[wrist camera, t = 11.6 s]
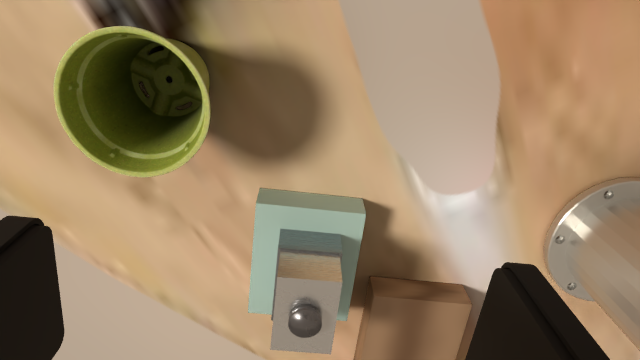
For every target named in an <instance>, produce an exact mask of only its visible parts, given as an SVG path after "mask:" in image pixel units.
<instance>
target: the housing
mask: <svg viewBox="0 0 640 360" xmlns="http://www.w3.org/2000/svg"><path fill="white" fill-rule="evenodd" d="M342 254H343V253H342V244H341V236H340V234H335V233H324V232H313V231H302V230H291V229H281V228H280V236H279V244H278V253H277V264H276V274H275V285H274V296H273V307H272V317H271V320H273V327H272V338H271V348H270V350H282V351H295V352H308V353H321V354H331V350H332V344H333V338H334V332H335V326H336V319H337V313H338V307H339V301H340V295H341V289H342V273H341V260H342Z"/></svg>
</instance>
